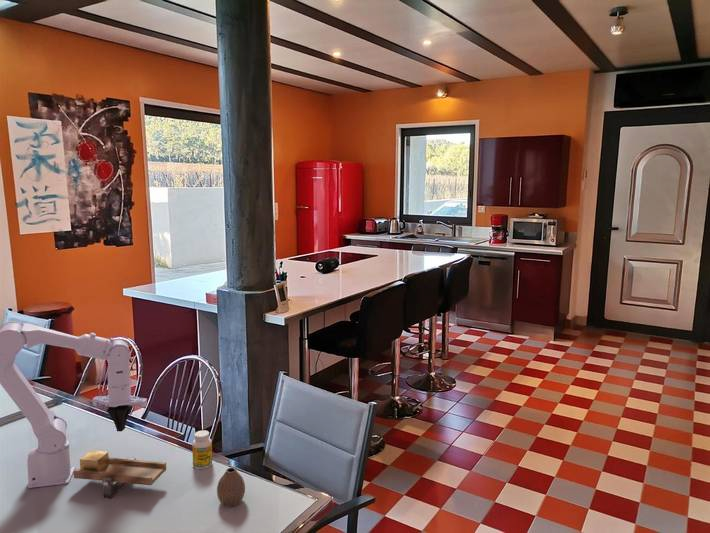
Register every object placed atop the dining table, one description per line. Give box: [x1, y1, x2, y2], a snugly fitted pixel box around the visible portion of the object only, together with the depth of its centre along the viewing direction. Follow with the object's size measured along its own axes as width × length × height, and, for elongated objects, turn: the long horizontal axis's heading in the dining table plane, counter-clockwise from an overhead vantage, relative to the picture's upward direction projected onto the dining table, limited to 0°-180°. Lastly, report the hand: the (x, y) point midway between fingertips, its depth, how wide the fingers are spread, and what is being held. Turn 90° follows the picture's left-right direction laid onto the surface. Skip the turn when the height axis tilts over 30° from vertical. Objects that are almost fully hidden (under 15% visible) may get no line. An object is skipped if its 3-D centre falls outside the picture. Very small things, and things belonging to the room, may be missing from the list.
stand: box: [102, 456, 137, 499], centre depth 135 cm, size 2×12×5 cm, turn 171°
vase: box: [216, 467, 246, 508], centre depth 129 cm, size 7×7×9 cm
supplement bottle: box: [191, 429, 213, 470], centre depth 146 cm, size 5×5×10 cm
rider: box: [79, 449, 110, 471], centre depth 135 cm, size 5×5×4 cm
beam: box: [73, 457, 167, 486], centre depth 135 cm, size 22×8×2 cm, turn 81°
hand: (121, 429), depth 144 cm, fingers closed
